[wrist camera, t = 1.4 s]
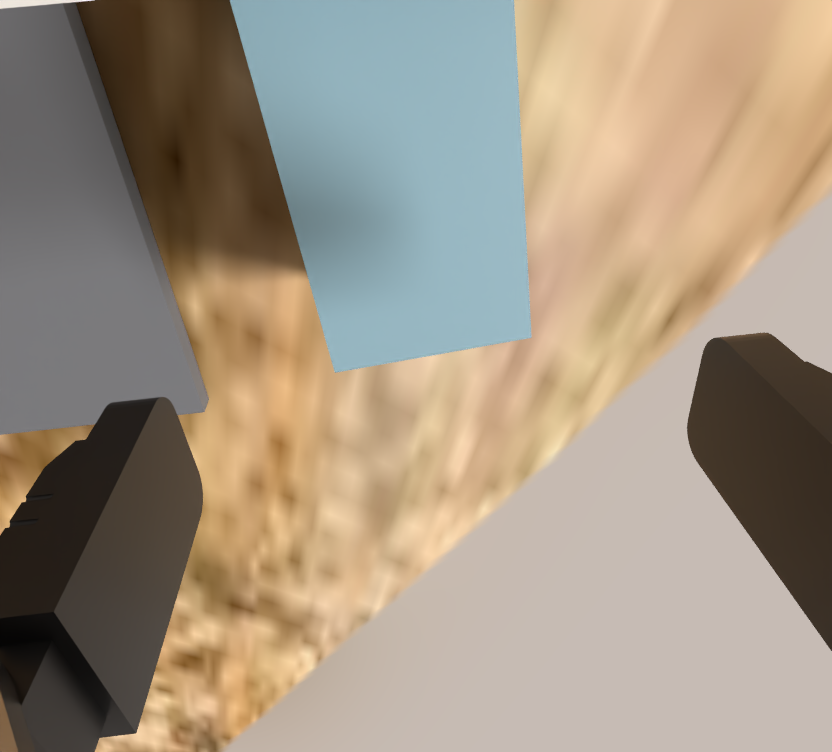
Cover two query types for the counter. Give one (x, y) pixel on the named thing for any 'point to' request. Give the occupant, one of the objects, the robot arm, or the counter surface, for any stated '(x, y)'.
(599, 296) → the counter surface
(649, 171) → the counter surface
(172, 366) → the mat
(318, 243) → the block
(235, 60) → the counter surface
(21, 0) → the white box
